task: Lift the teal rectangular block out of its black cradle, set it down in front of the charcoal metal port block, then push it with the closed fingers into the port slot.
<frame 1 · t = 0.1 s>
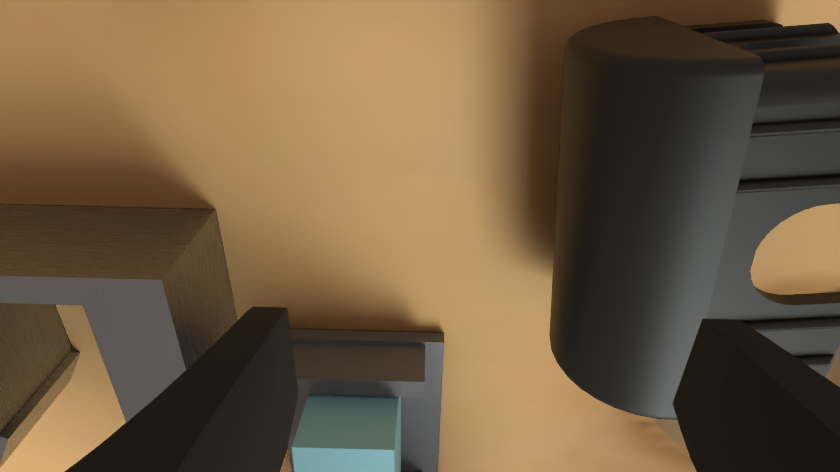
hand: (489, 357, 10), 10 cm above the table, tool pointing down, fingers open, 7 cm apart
teal rectangular block: (361, 421, 24), point 1 cm above the table, tilted 6°, touching holster
holster: (363, 407, 24), on the table
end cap: (638, 163, 19), on the table
port block: (105, 285, 21), on the table
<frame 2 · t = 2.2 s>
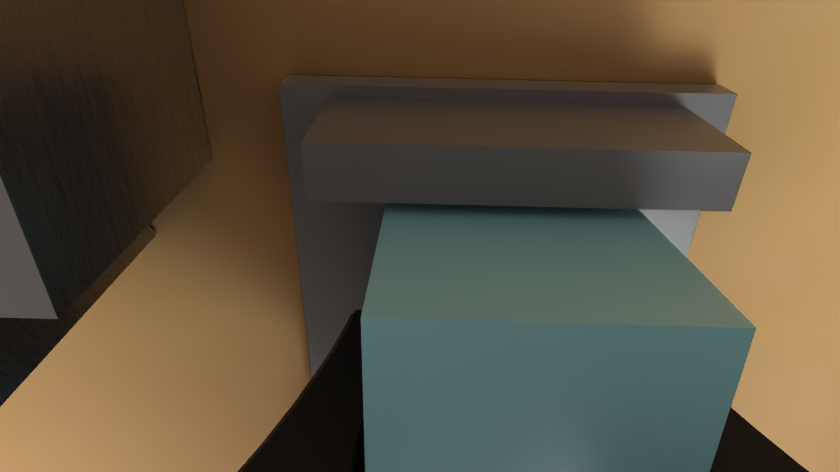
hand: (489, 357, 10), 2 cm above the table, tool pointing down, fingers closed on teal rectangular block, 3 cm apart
teal rectangular block: (486, 326, 10), point 1 cm above the table, tilted 6°, touching gripper, holster
holster: (481, 302, 11), on the table
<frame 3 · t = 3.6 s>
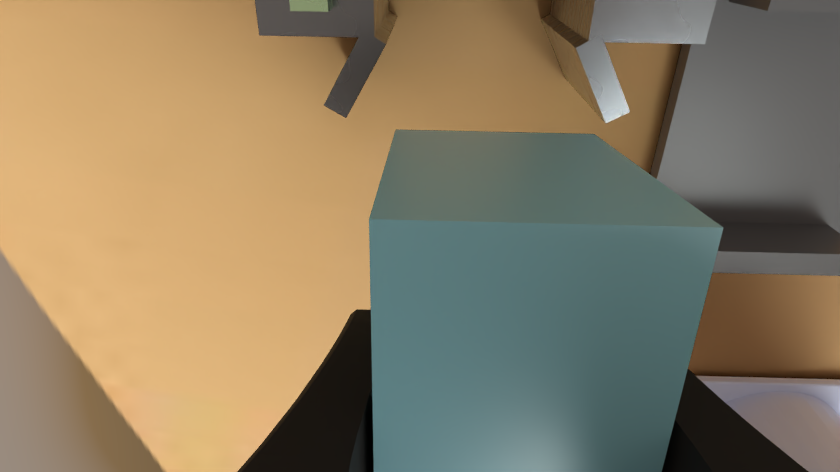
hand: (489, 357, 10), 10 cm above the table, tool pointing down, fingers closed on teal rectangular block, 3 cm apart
teal rectangular block: (483, 283, 11), point 8 cm above the table, tilted 7°, touching gripper
holster: (772, 118, 17), on the table
when the fingers open (2 cm above the table, at t = 5.2 s): teal rectangular block stays where it is, on the table.
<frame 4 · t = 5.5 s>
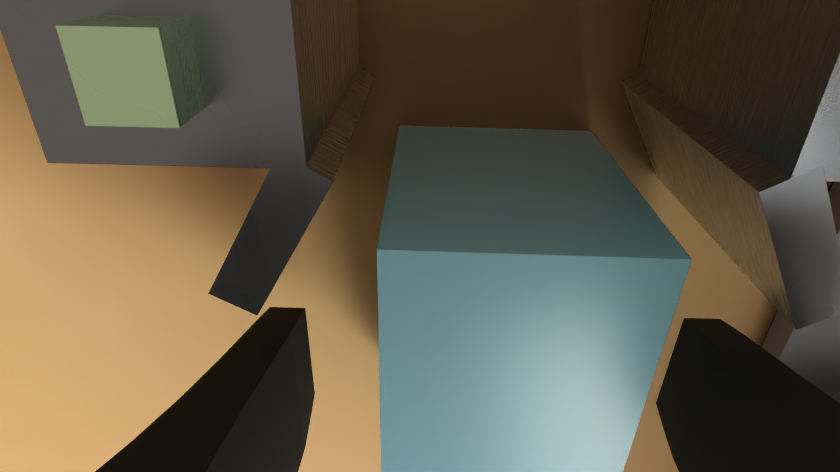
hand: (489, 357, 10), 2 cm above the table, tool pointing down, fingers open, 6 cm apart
teal rectangular block: (481, 263, 11), on the table
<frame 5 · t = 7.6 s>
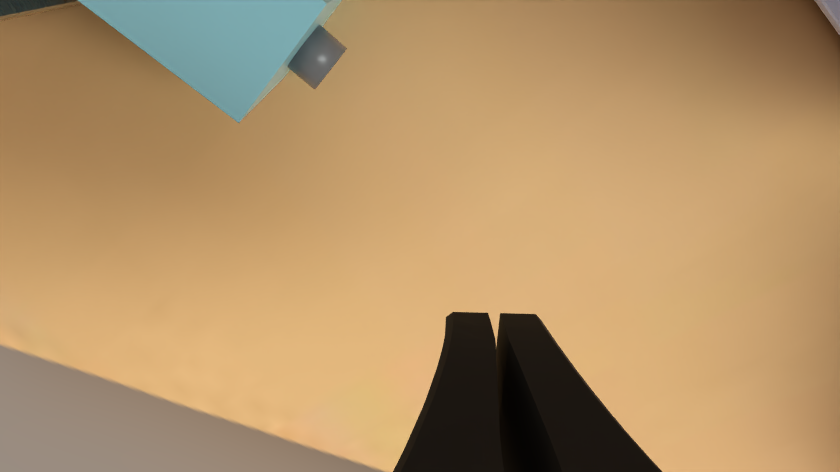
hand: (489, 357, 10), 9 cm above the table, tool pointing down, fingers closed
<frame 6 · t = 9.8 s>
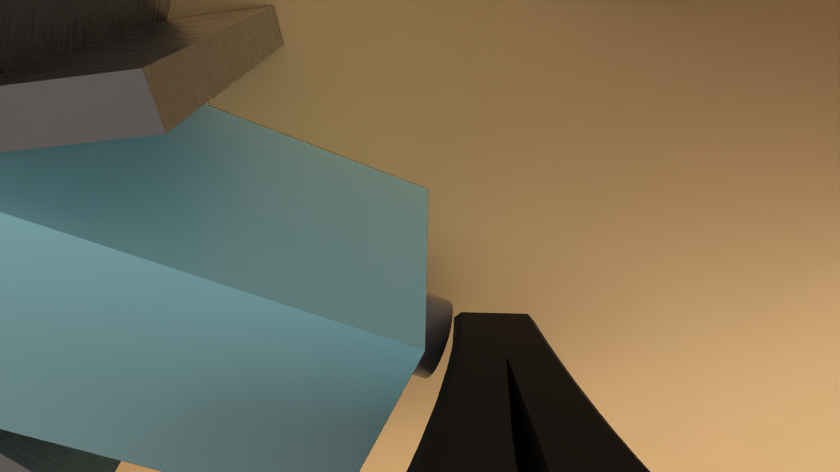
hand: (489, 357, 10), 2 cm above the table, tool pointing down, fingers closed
teal rectangular block: (252, 210, 10), on the table, touching gripper
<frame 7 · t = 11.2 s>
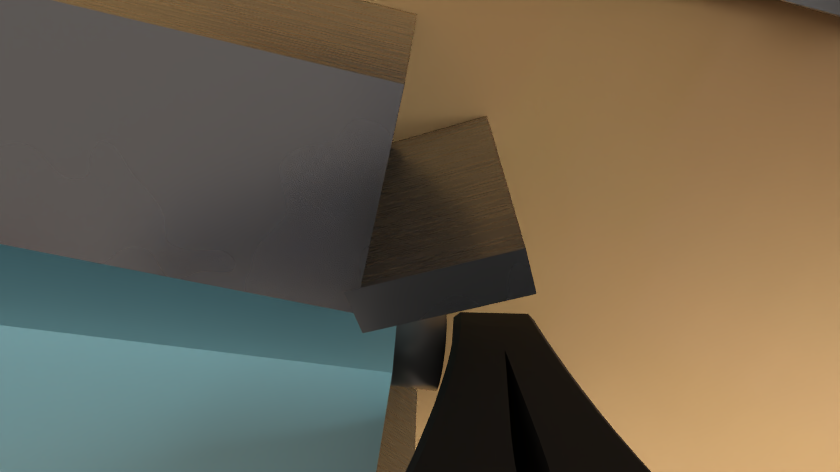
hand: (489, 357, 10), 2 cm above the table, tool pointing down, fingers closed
teal rectangular block: (252, 260, 11), resting in port block, touching gripper
port block: (190, 232, 11), on the table
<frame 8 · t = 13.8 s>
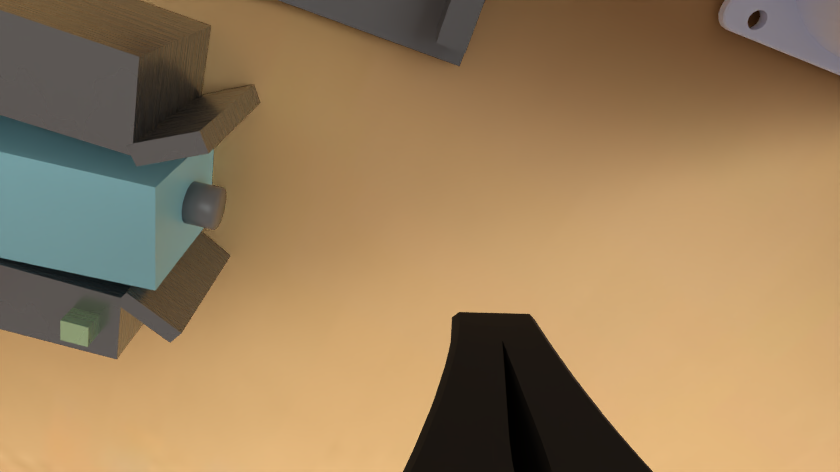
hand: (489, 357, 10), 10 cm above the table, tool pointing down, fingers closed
teal rectangular block: (126, 156, 19), resting in port block
port block: (88, 136, 18), on the table
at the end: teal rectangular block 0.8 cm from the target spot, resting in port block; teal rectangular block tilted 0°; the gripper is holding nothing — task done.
